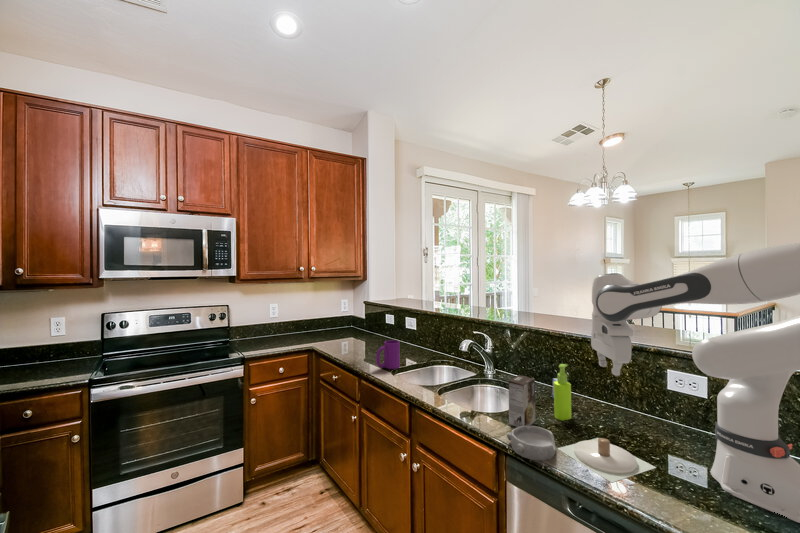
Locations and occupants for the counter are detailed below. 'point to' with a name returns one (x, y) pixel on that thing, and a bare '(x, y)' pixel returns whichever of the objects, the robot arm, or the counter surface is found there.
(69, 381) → the counter surface
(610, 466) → the lid
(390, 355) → the mug
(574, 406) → the counter surface
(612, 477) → the mat
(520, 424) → the coffee box
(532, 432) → the dish
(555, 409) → the soap dispenser
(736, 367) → the robot arm
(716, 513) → the counter surface
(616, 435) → the counter surface
